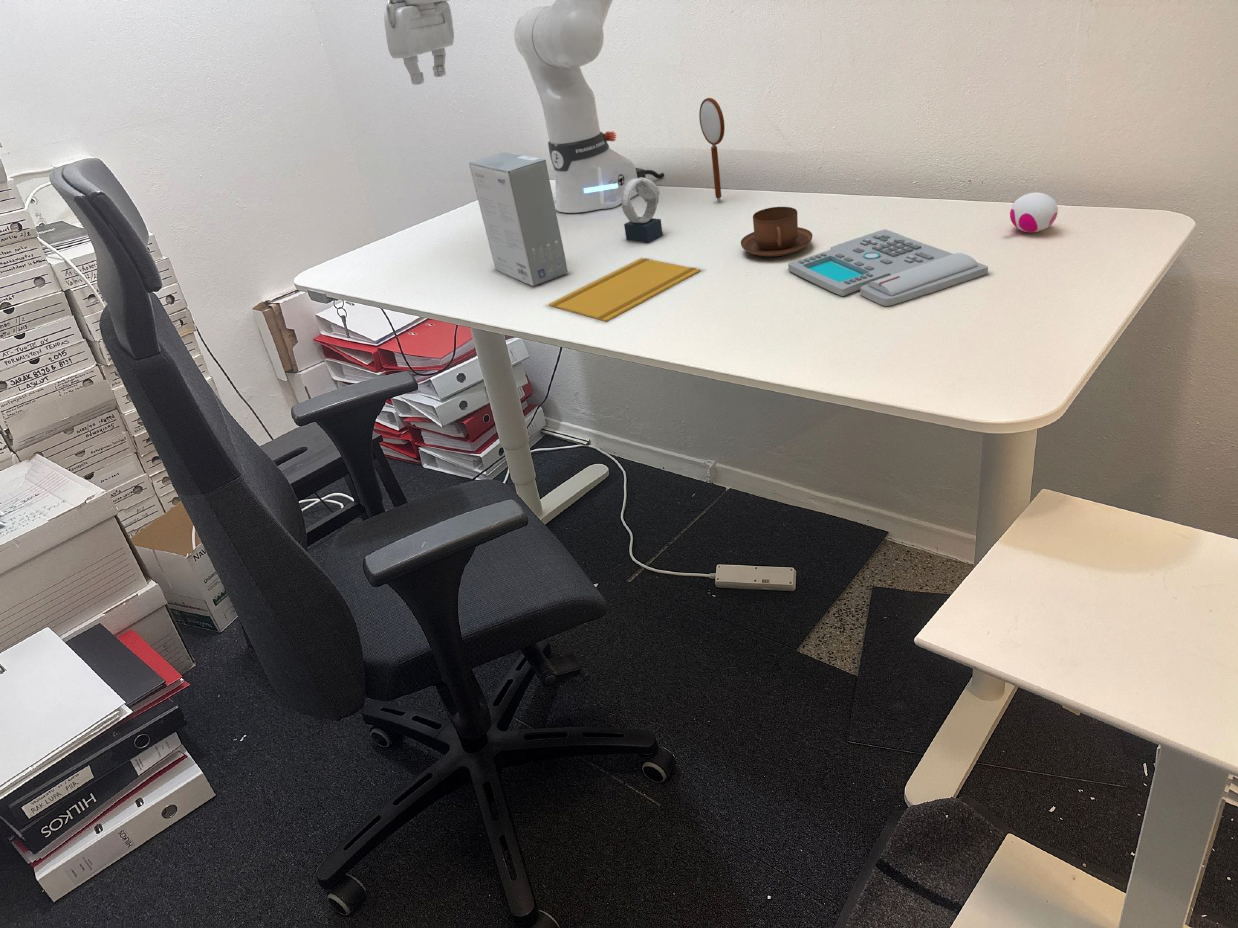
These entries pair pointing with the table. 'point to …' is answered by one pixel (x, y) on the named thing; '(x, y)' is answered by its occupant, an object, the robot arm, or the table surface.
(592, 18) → the robot arm
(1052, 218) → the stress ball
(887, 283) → the office telephone
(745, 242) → the cup and saucer
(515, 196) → the hard drive box
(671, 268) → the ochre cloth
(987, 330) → the table surface
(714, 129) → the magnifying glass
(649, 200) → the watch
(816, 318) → the table surface
